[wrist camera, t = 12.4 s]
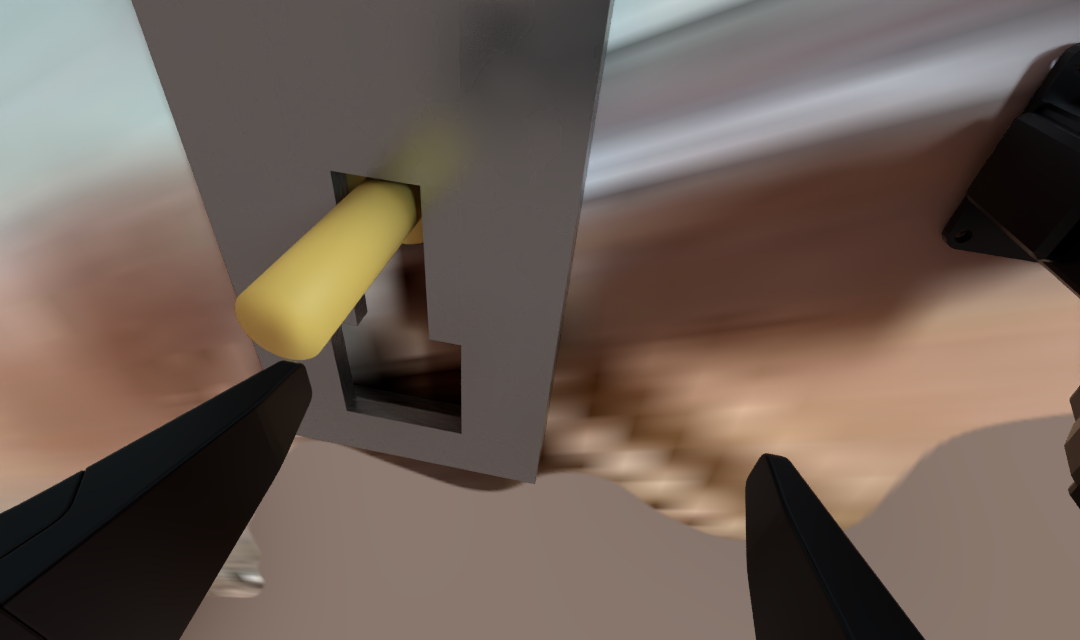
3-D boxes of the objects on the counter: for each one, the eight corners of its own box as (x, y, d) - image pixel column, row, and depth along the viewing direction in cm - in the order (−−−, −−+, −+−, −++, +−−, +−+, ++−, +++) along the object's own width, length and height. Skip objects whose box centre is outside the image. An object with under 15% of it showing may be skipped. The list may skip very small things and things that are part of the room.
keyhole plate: (616, -13, 15) (610, 0, 13) (543, 439, 29) (534, 483, 27) (184, -71, 16) (107, -68, 14) (313, 393, 30) (285, 432, 28)
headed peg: (460, 137, 19) (344, 273, 12) (460, 235, 22) (366, 395, 14) (353, 120, 19) (176, 243, 12) (366, 219, 22) (228, 368, 15)
